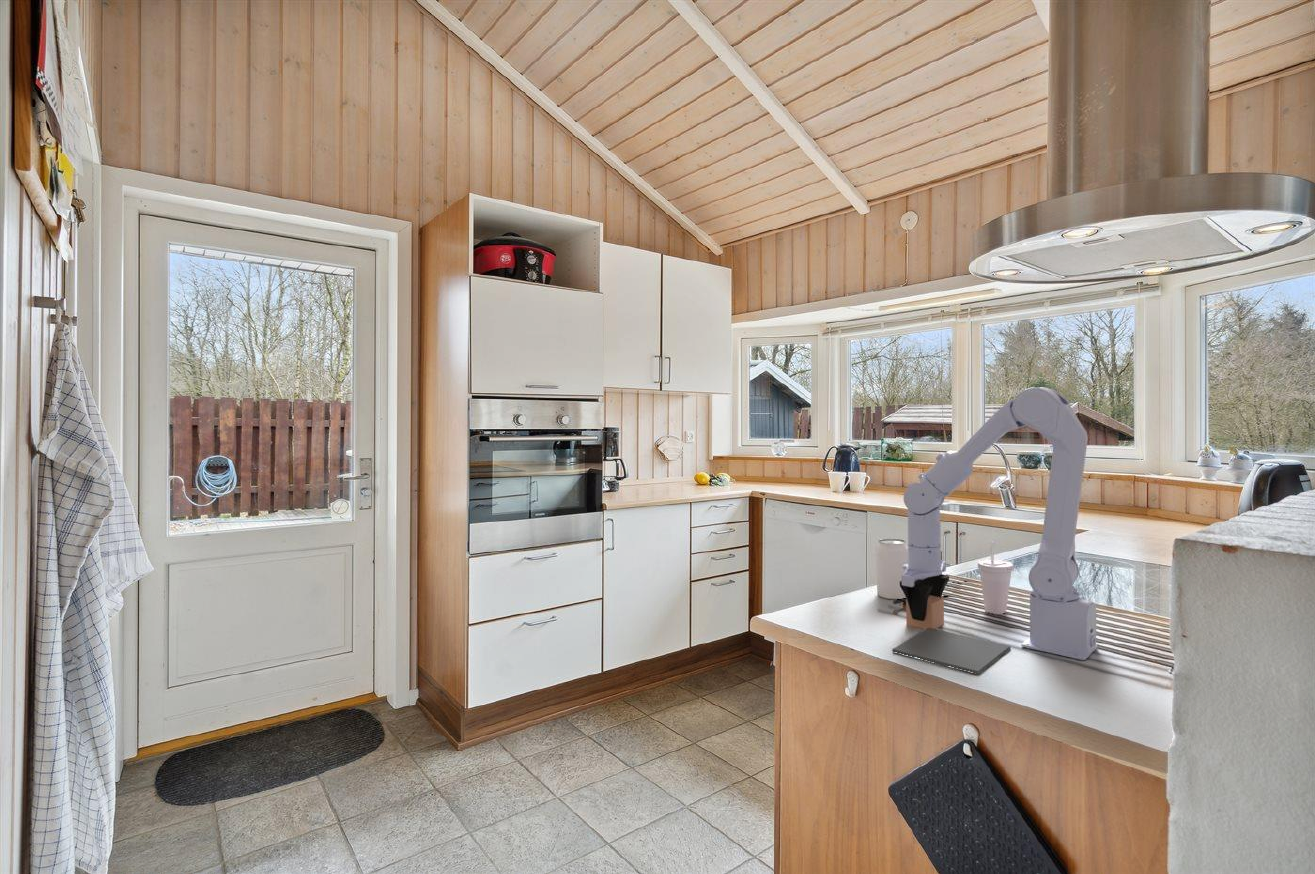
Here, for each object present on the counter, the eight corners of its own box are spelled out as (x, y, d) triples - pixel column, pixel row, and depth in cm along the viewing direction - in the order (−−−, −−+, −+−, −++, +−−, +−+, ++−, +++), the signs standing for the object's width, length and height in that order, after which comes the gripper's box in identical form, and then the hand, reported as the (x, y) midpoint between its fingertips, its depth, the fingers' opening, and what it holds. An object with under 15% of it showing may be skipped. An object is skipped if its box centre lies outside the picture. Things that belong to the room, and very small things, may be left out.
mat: (1010, 649, 114) (1010, 645, 114) (977, 674, 104) (977, 670, 104) (928, 630, 124) (928, 627, 124) (892, 652, 114) (892, 648, 114)
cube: (944, 623, 127) (943, 597, 127) (932, 630, 124) (932, 603, 124) (918, 618, 131) (917, 592, 131) (906, 624, 128) (906, 598, 127)
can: (913, 599, 143) (912, 543, 142) (882, 600, 143) (881, 544, 142) (902, 591, 149) (902, 537, 148) (873, 592, 149) (872, 538, 148)
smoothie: (972, 606, 137) (971, 538, 136) (1004, 605, 137) (1004, 537, 136) (986, 616, 130) (985, 545, 130) (1020, 616, 130) (1019, 544, 129)
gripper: (920, 535, 135) (921, 602, 135) (885, 548, 124) (886, 620, 125) (956, 540, 129) (957, 609, 130) (922, 554, 119) (923, 629, 120)
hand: (925, 615), depth 127 cm, fingers closed on cube, 5 cm apart
